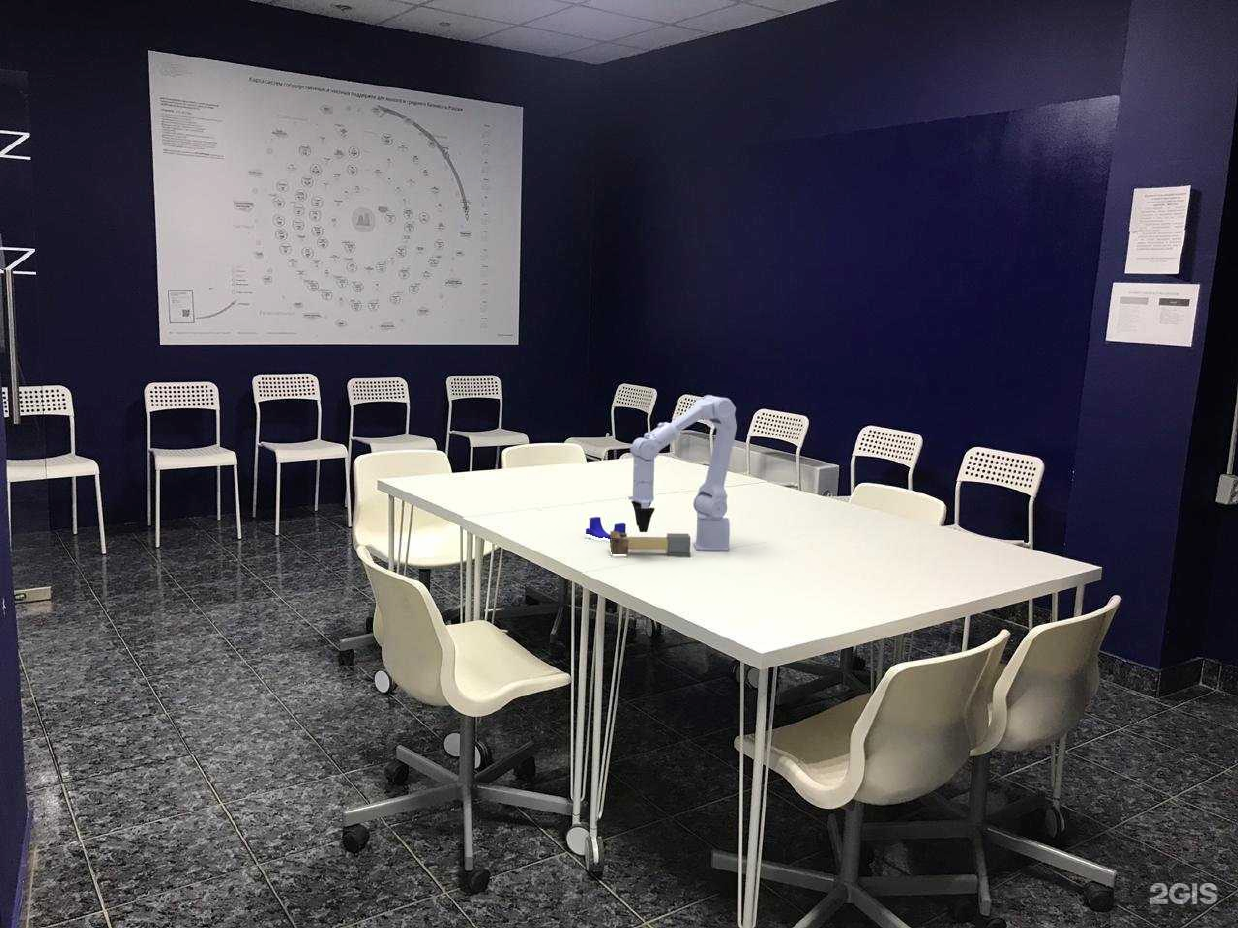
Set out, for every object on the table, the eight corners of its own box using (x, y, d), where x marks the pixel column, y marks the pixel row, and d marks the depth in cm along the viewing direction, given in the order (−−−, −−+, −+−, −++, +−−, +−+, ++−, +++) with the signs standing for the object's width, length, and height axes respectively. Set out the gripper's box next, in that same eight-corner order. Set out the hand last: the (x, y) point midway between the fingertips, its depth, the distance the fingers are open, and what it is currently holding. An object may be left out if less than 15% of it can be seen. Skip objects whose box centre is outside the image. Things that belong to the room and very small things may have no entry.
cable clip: (585, 538, 299) (586, 518, 298) (596, 536, 302) (597, 516, 301) (614, 545, 291) (614, 525, 290) (625, 543, 294) (625, 523, 293)
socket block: (625, 550, 285) (626, 531, 284) (628, 557, 277) (628, 537, 276) (610, 549, 285) (610, 531, 284) (611, 556, 277) (612, 537, 276)
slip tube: (670, 547, 283) (670, 537, 283) (671, 550, 280) (672, 539, 280) (619, 547, 282) (619, 536, 282) (620, 549, 279) (620, 539, 279)
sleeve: (687, 551, 285) (687, 533, 285) (689, 556, 279) (690, 538, 279) (666, 551, 285) (666, 532, 284) (668, 556, 279) (669, 537, 278)
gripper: (626, 476, 285) (625, 522, 287) (631, 485, 271) (629, 534, 273) (651, 476, 286) (650, 523, 288) (657, 485, 271) (655, 534, 273)
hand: (642, 528), depth 280 cm, fingers open, 7 cm apart
